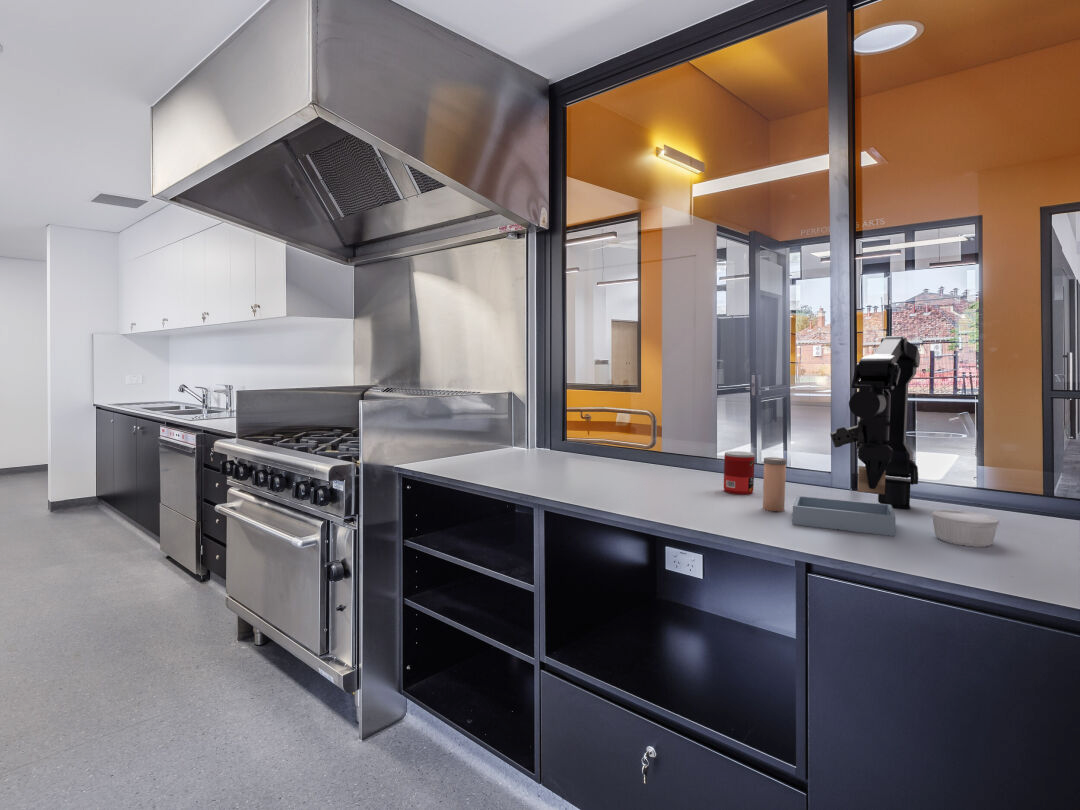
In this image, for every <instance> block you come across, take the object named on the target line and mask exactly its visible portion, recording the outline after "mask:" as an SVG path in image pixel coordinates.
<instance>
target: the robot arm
mask: <svg viewBox="0 0 1080 810" xmlns="http://www.w3.org/2000/svg"><path fill="white" fill-rule="evenodd" d="M920 363H921V356H920V351H919V348H918V346H917V345H915V344H914V343H912V342H910V341H908V338H907V337H906V336H903V335H896V336H895V335H894V336H891V335H890V336H888V335H887V336H884V337H881V340H880V344H879V346H878V347H877V349H875V351H874V352H873V354H868V355H865V356H863V357H862V358H860V360H859V362H857V363H856V365H855V369H854V373H853V378H852V381H851V389H853V390H855V389H858V391H856V392H855V393H853V394H852V396H851V397H850V399H849V401H848V407H849V411H851V413H852V414H853V415H854V416H855V417H858V418H859V419H858V420H857V425H854V426H850V427H847V428H846V427H845V426H842V427H839V428H836V430H835V431H831V432H830V434H829V435H830V438H831V441H832V444H833V446H834V448H840V447H842V446H843V445H849V444H852V443H856V446H855V448H856V450H857V451H856V453H857V459H859V460H860V461H861V463H863V465H864V466H866V472H867V478H868V484H869V488H870V489H875V488H876V486H877V484H878V482H879V480H880V478H881V477H882V475H883V473H884V471H886V474H885V494H877V501H878V503H879V504H889V505H892V508H898V509H900V508H901V509H908V510H910V509H911V508H912V507H911V503H910V502H911V487H912V485H913V486H914V485H918V484H919V468H918V465H917V464H916V461H915V460H914V453H913V451H912V449H911V447H910V446H909V445H908V443H907V427H908V426H907V424H908V399H909V384H910V383H911V382H912V380H913V379H914V377H915V376H916V374H917V369H919V368H920Z"/></svg>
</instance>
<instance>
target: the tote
mask: <svg viewBox="0 0 1080 810" xmlns="http://www.w3.org/2000/svg"><path fill="white" fill-rule="evenodd" d="M896 518H897V517H896V514H895V511H894V507H892V505H889V504H880V503H879V502H878V503H876V502H865V501H857V500H845V499H838V498H837V499H836V498H825V497H817V496H816V497H815V496H814V497H813V496H804V495H796V497H795V500H794V502H793V505H792V519H791V521H792V523H791V524H792V525H797V526H804V527H805V526H806V527H813V528H820V527H821V528H822V529H829V528H830V529H831V530H837V529H839V531H846V530H847V531H846V532H855V533H856V532H857V533H863V532H864V534H871V533H873V534H875V535H880V534H881V536H888V535H889V537H890V536H891V537H896ZM873 534H872V535H873Z"/></svg>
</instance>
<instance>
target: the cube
mask: <svg viewBox="0 0 1080 810" xmlns="http://www.w3.org/2000/svg"><path fill="white" fill-rule="evenodd" d="M885 474H886V471H884V473H883V475H882V477H881V478H880V480H879V482H878V484H877V486H876V488H875V489H870V488H869V484H868V478H867V472H866V466H865V465H863V466H862V465H858V469H857V492H858V493H865V494H877V495H878V494H885Z"/></svg>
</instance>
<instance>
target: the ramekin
mask: <svg viewBox="0 0 1080 810" xmlns="http://www.w3.org/2000/svg"><path fill="white" fill-rule="evenodd" d="M931 518H932V523H933V531H934V535H935V536H936V538H937V539H938V538H939V539H938V540H940V539H941V540H940V541H942V540H943V541H942V542H945V541H946V542H945V543H948V542H949V544H952V543H953V544H952V545H957V544H958V546H962V545H965V546H964V547H970V546H973V548H986V546H987V547H989V546H991V545H992V544H994V541H995V538H996V533H997V528H998V526H1000V520H999V519H998V518H997V517H994V516H992V515H988V514H984V513H977V512H972V511H966V510H965V511H964V510H957V509H955V510H954V509H937V510H933V511H932V512H931Z"/></svg>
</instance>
